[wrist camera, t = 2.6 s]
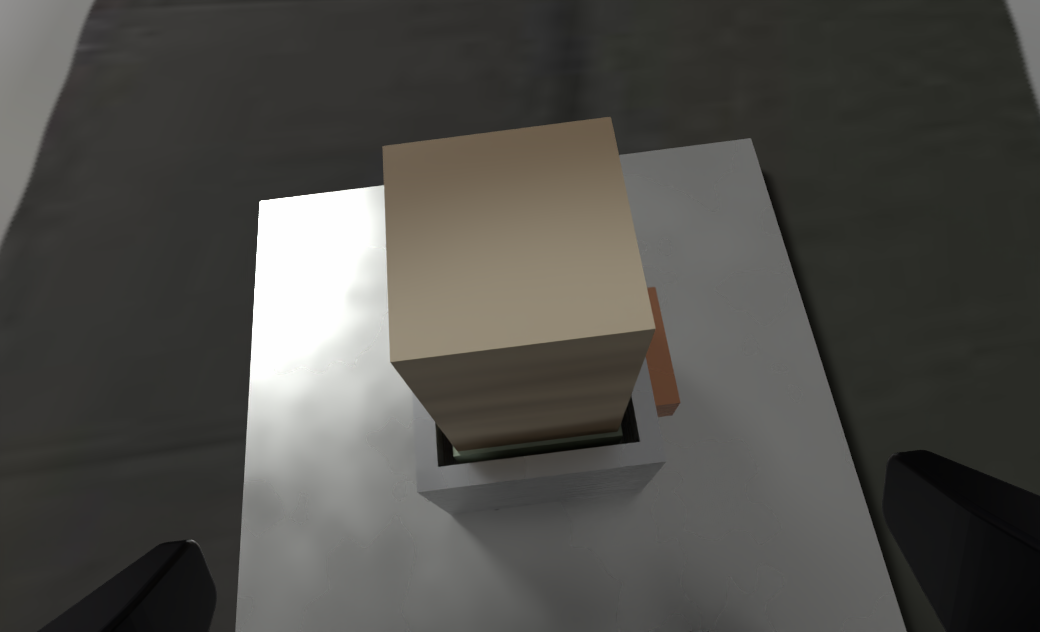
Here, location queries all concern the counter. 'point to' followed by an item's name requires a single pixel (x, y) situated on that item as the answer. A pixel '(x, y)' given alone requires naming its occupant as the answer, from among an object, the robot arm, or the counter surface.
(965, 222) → the counter surface
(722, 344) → the stand
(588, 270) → the post
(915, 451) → the robot arm
